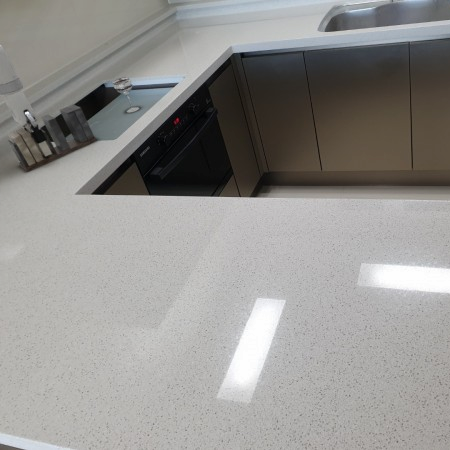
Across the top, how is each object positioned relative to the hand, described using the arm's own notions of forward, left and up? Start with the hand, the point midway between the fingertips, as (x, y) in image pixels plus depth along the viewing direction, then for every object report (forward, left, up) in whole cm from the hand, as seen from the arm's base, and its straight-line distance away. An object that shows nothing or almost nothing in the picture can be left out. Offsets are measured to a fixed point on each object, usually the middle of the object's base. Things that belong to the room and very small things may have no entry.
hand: (38, 139), depth 151 cm
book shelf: (+4, 0, -7) cm, 8 cm away
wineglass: (+38, +11, -7) cm, 40 cm away
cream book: (0, 0, -5) cm, 5 cm away
